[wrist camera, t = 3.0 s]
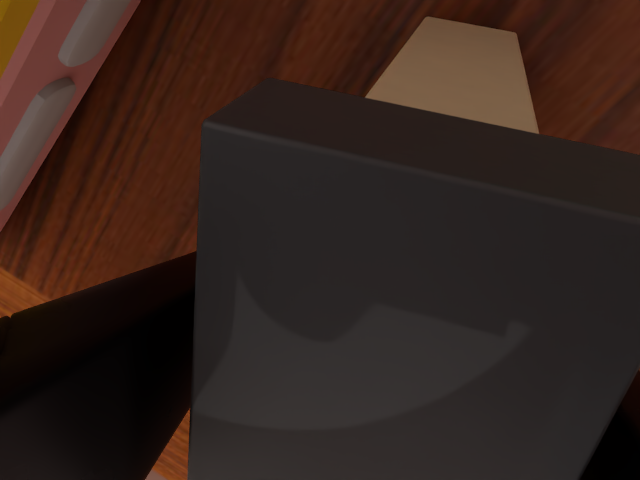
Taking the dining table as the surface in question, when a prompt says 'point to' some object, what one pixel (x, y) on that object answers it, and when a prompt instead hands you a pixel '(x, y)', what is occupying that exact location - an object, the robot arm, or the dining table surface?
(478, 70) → the stand
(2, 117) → the alarm clock
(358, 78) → the dining table surface
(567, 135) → the dining table surface
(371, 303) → the dark grey flat block
